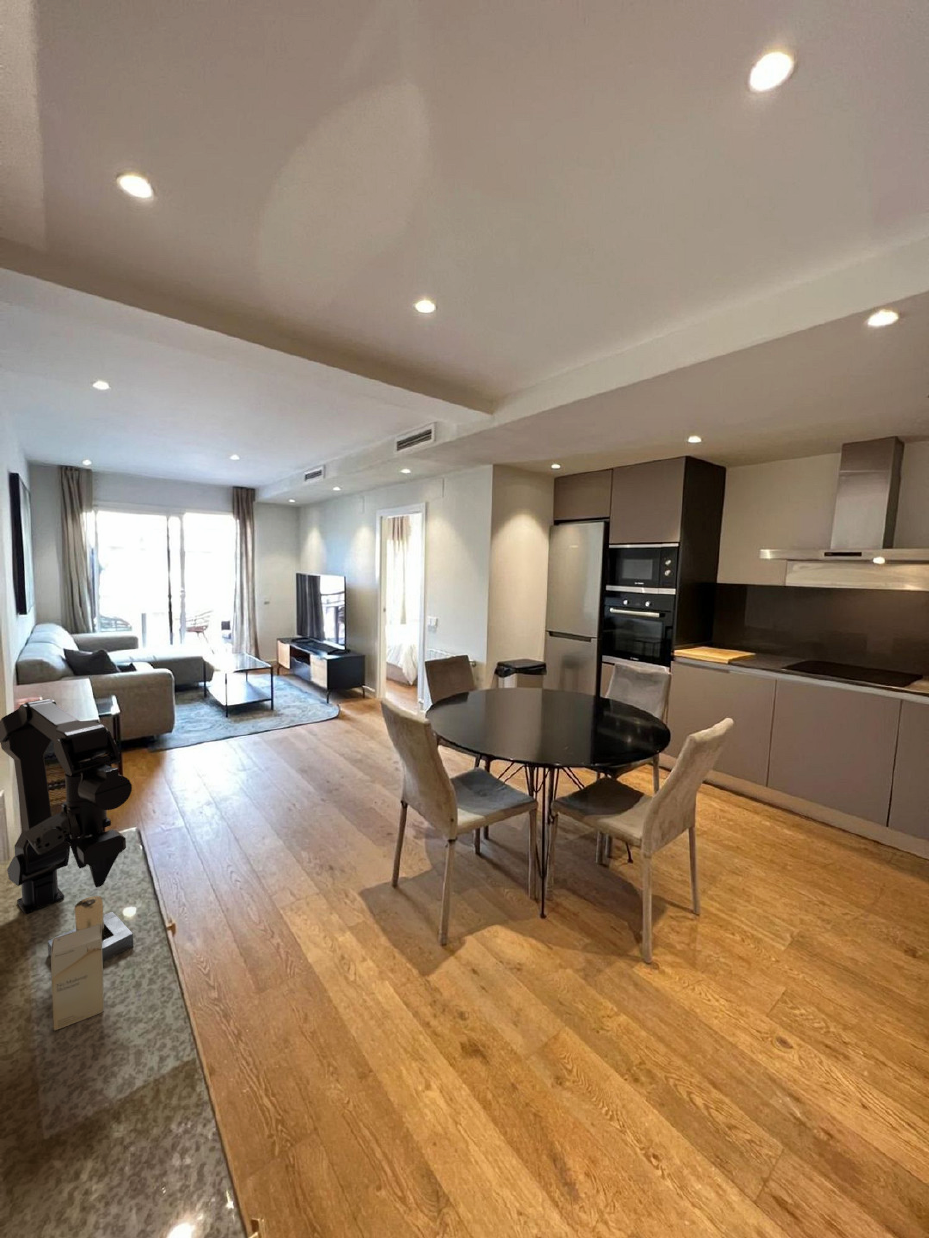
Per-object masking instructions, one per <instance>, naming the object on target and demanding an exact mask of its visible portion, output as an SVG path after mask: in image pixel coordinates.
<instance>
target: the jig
mask: <svg viewBox="0 0 929 1238" xmlns="http://www.w3.org/2000/svg"><path fill="white" fill-rule="evenodd" d="M103 918H104V935H105V940H103V941H102V958H103V963H104V962H106V961H108V960H110V959H112V958H114V957H115V956H117V955H120V954H122V953H123V952H125V951H127V950H129V949H131V948H133V947H134V933H133V932H132V931H131V930H130V929H129V928H128V927H127V925H125V923H124V922H123V921H122V920H121V919H120V918H119V917H118V916H117V915H116V914H115V913H114V912H113V911H111V912H108V913H106V914H103ZM75 931H76V927H75V928H74V929H70V930H69V931H67V932H64V933H62V934H59V935H57V936H56V937H54V938H57V937H60V936H63V935H66V934H69V933H73V932H75ZM52 942H53V938H51V939H50V940H47V953H48V956H49V957H50V958H51V948H52Z"/></svg>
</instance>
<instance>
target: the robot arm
mask: <svg viewBox="0 0 929 1238" xmlns="http://www.w3.org/2000/svg"><path fill="white" fill-rule="evenodd" d="M52 742H53V753H54V756H55V757H56V759H57V760H58V763H59V764H60V766H61V768H62V770H63V771H64V782H65V783H64V785H65V801H63V802H62V804H61V806H60V808H61V811H60V812H59V813H57V814H55V815H52V807H51V799H50V792H49V785H48V776H47V769H46V761H45V754H46V752H47V751H48V748H49V747H50V745H51V743H52ZM0 746H1V750H2V751H3V752H4V753H6V755H8V756H9V757H10V758H11V759H12V760H13V761H14V770H15V777H16V783H17V784H16V785H17V793H18V800H19V808H20V815H21V824H22V831H21V833H20V835H19V836H18V839H17V840H16V842H15V844H14V856H13V858H12V859H11V862H10V863H9V864H8V867H7V870H6V871H7V875H8V880H10V882H12V883H13V884H15V885H16V886H17V887H19V886H20V887H21V898H18V899H16V904H17V905H18V906H19V907H20V910H21V911H22V912H23V914H24V915H26V914H29V913H32V912H34V911H36V910H39V909H41V908H43V907H46V906H50V905H51V904H54V903H56V902H58V901H61V900H63V899H64V898H65V893H63V892H62V891H61V889H60V888H59V885H58V884H59V883H58V870H59V869H61V868H62V869H63V868H64V867H67V866H68V864H69V859H70V853H72V854H73V856H74V860H75V862H76V864H77V868H78V869H83V868H85V867H86V866H88V867H89V870H90V874H91V877H92V881H93V885H94V887H95V888H100V887H102V886H104V884H105V882H106V880H107V878H108V876H109V874H110V871H111V870H112V867H113V866H114V864H115V862H116V860H117V859H118V856H119V855H120V854H121V853H122V852H123V851H125V850H126V849H127V842H126V841H127V840H126V837H125V836H124V835H123V834H122V833H120V832H119V831H117V830H115V829H113V828H112V829H109V830H106V831H105V830H103V829H104V828H108V827H110V826H112V822H111V819H110V818H109V817H108V813H107V812H108V811H112V810H115V809H118V808H119V807H121V806H123V805H124V804H125V803H126V802H127V801H128V800H129V798H130V796H131V793H132V790H133V785H132V783H131V781H130V779H129V778H127V777H126V776H124V775H121V774H119V769H118V768H117V767H115V766H114V767H112V765H114V764H118V763H121V757H120V754H121V751H120V748H119V747H118V745H117V743H116V741H115V739H114V737H113V735H112V733H111V732H110V730H109V729H108V728H107V727H106V726H105V725H104V724H102V723H99V722H96V721H93V720H92V721H87V720H86V721H85V720H79V719H77V718H75V717H74V716H73V715H71V714H70V713H69V712H67V711H65V709H62V708H61V707H60V706H58V705H57V702H56V701H55V700H54V699H50V698H45V699H39V700H34V701H33V700H32V701H28V702H25V703H21V705H19V707H18V708H17V709H16V710H14V711H12V712H11V713H9V714H7V715H5V716H3V717H1V719H0ZM99 756H100V757H99Z"/></svg>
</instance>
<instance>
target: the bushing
mask: <svg viewBox="0 0 929 1238" xmlns="http://www.w3.org/2000/svg"><path fill="white" fill-rule="evenodd" d="M103 902H104V901H103V897H102V896H99V895H93V896H89V897H86V898H84V899H81V900H80V901H79V902H77V903H76V904H75V905H74V914H75V915H74V916H75V919H74V920H75V928H76V931H78V930H82V929H85V928H88V927H92V926H95V925H98V924H101V927H102V941H103V940H105V939H106V937H105V935H104V918H103V915H104V905H103Z"/></svg>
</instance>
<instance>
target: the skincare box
mask: <svg viewBox="0 0 929 1238" xmlns="http://www.w3.org/2000/svg"><path fill="white" fill-rule="evenodd" d="M59 936H60V935H59ZM56 937H57V938H55V937H54V938H52V939H53V942H52V948H51V957H50V965H51V966H50V969H51V971H50V972H51V992H52V993H51V996H52V1017H53V1019H52V1021H53V1031H57V1030H60V1029H63V1028H66V1027H68V1026H71V1025H73V1024H75V1023H78V1022H81V1021H83V1020H86V1019H88V1018H91V1017H93V1016H96V1015H99V1014H101V1013H103V1012H104V1005H105V1003H104V1000H105V993H104V990H105V989H104V968H103V967H104V965H103V963H104V962H103V958H102V927H101V924H98V925H95V926H92V927H88V928H85V929H82V930H78V931H75V932H73V933H69V934H66V935H63V936H60V937H58V936H56Z"/></svg>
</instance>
